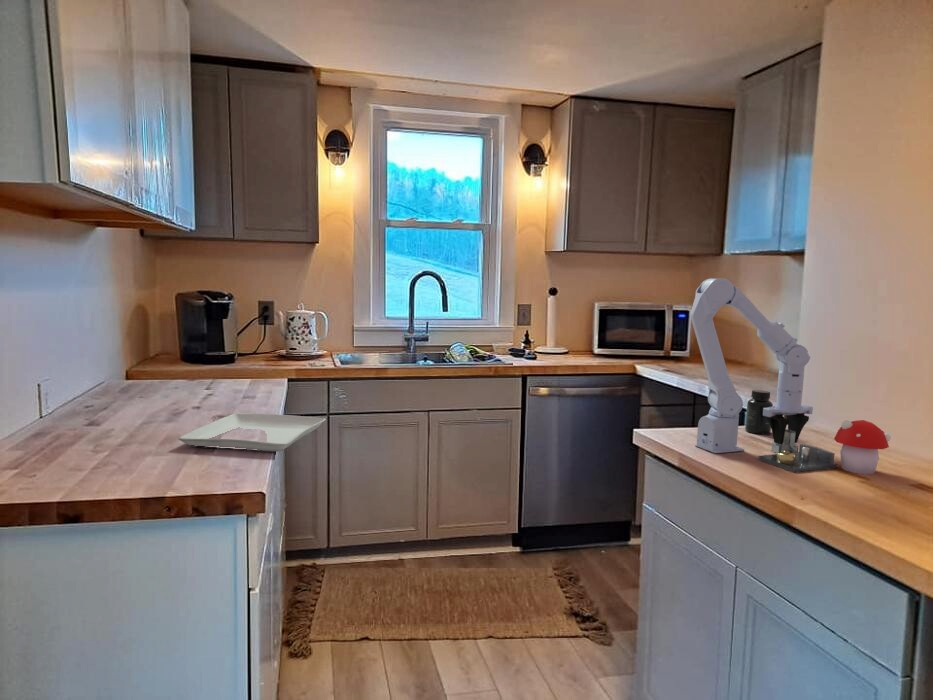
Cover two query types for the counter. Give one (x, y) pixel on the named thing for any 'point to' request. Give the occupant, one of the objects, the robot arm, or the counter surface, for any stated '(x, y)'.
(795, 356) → the robot arm
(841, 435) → the mushroom
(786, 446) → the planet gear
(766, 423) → the supplement bottle
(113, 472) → the counter surface
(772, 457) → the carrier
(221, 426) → the square plate
